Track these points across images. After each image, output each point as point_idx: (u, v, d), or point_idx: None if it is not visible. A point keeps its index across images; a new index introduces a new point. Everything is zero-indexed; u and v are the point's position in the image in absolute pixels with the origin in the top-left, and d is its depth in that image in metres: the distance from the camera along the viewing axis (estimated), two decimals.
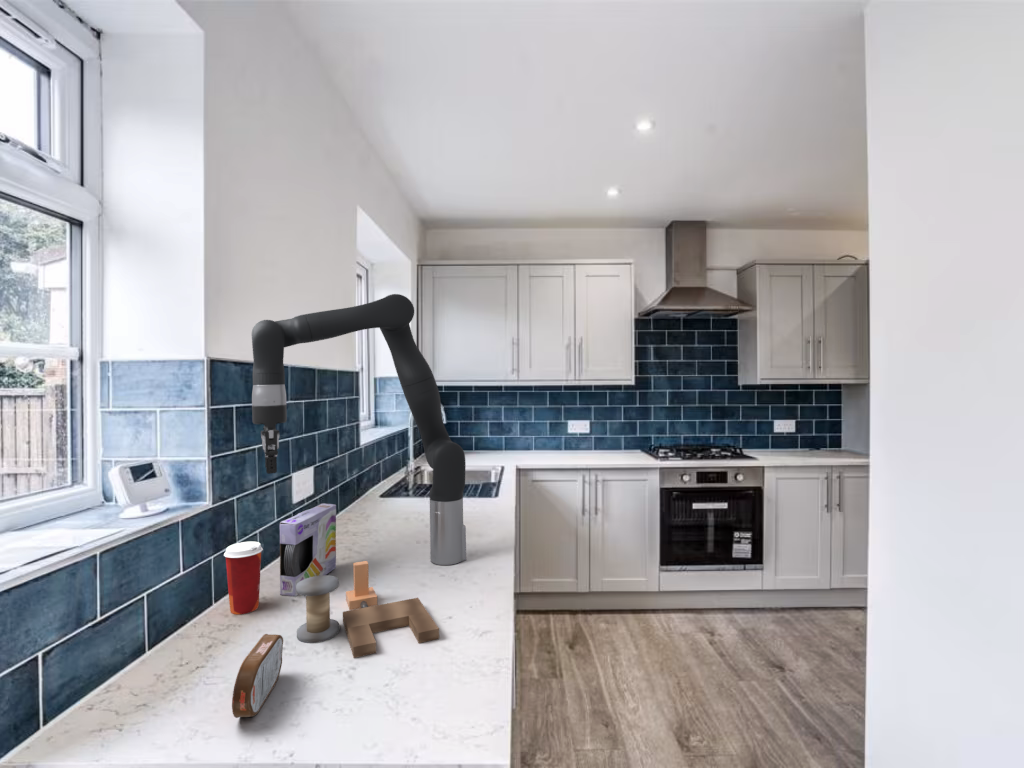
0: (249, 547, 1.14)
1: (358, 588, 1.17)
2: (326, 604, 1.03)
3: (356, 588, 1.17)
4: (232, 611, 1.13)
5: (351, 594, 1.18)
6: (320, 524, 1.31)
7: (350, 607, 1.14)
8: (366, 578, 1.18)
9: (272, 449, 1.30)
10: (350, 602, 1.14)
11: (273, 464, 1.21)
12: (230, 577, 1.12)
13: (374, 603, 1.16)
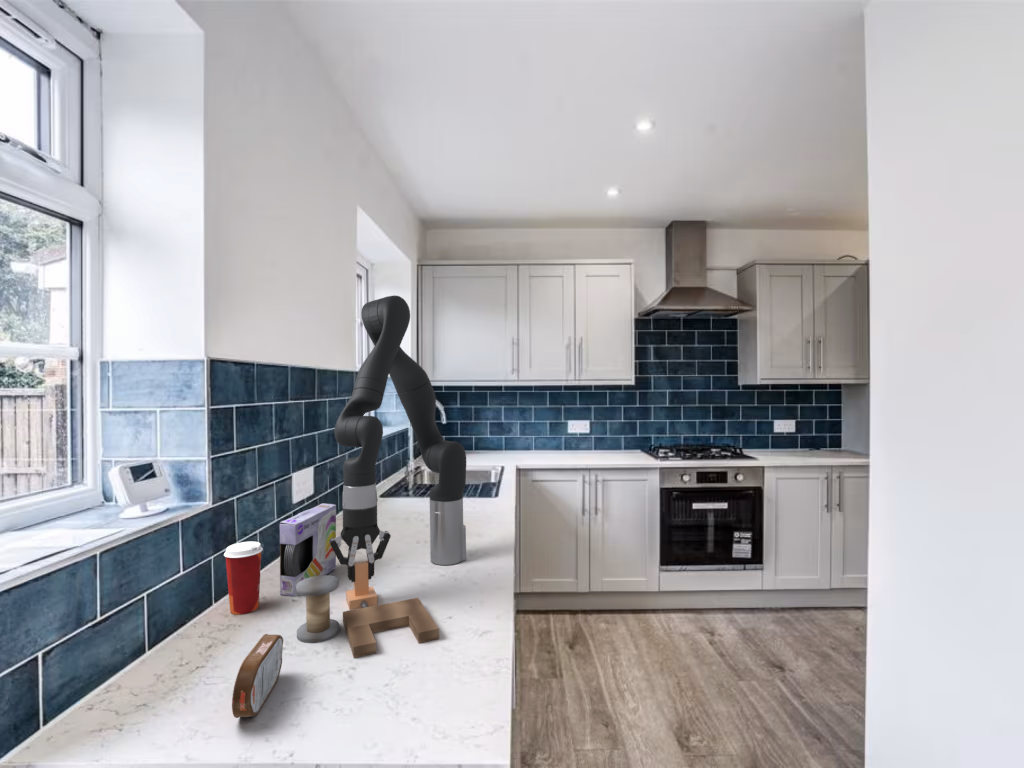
0: (249, 547, 1.14)
1: (358, 587, 1.17)
2: (326, 604, 1.03)
3: (356, 588, 1.17)
4: (232, 611, 1.13)
5: (351, 594, 1.18)
6: (320, 525, 1.31)
7: (350, 607, 1.14)
8: (366, 578, 1.18)
9: None
10: (350, 602, 1.14)
11: None
12: (230, 577, 1.12)
13: (374, 603, 1.16)
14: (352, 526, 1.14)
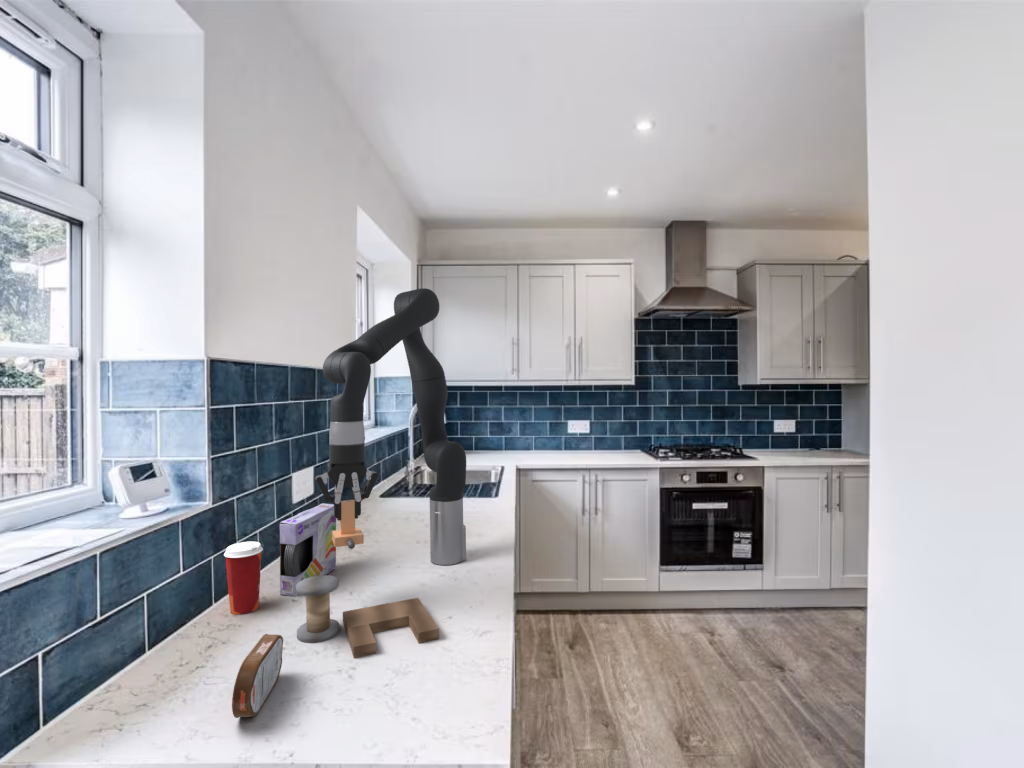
0: (249, 547, 1.14)
1: (344, 526, 1.15)
2: (326, 604, 1.03)
3: (342, 526, 1.15)
4: (232, 611, 1.13)
5: (337, 533, 1.16)
6: (320, 525, 1.31)
7: (336, 544, 1.12)
8: (353, 516, 1.16)
9: None
10: (336, 539, 1.12)
11: None
12: (230, 577, 1.12)
13: (360, 541, 1.14)
14: (338, 462, 1.12)
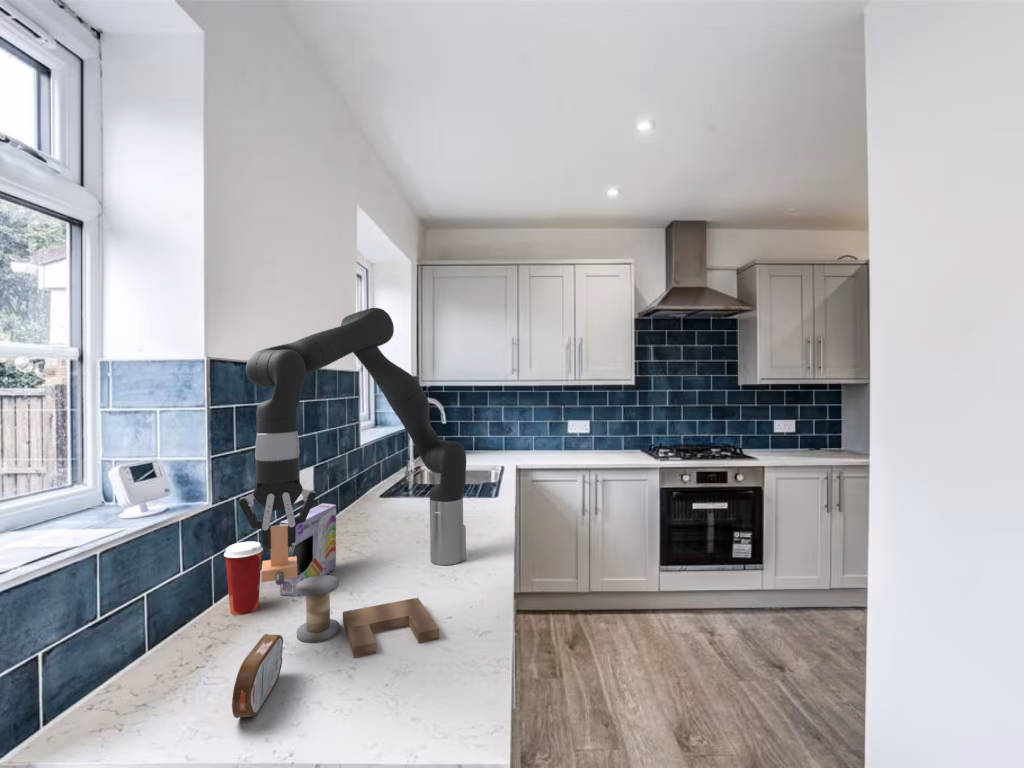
0: (249, 547, 1.14)
1: (274, 556, 0.97)
2: (326, 604, 1.03)
3: (272, 556, 0.97)
4: (232, 611, 1.13)
5: (267, 564, 0.98)
6: (320, 525, 1.31)
7: (262, 578, 0.94)
8: (285, 544, 0.98)
9: None
10: (262, 572, 0.94)
11: None
12: (230, 577, 1.12)
13: (293, 574, 0.96)
14: (265, 481, 0.94)
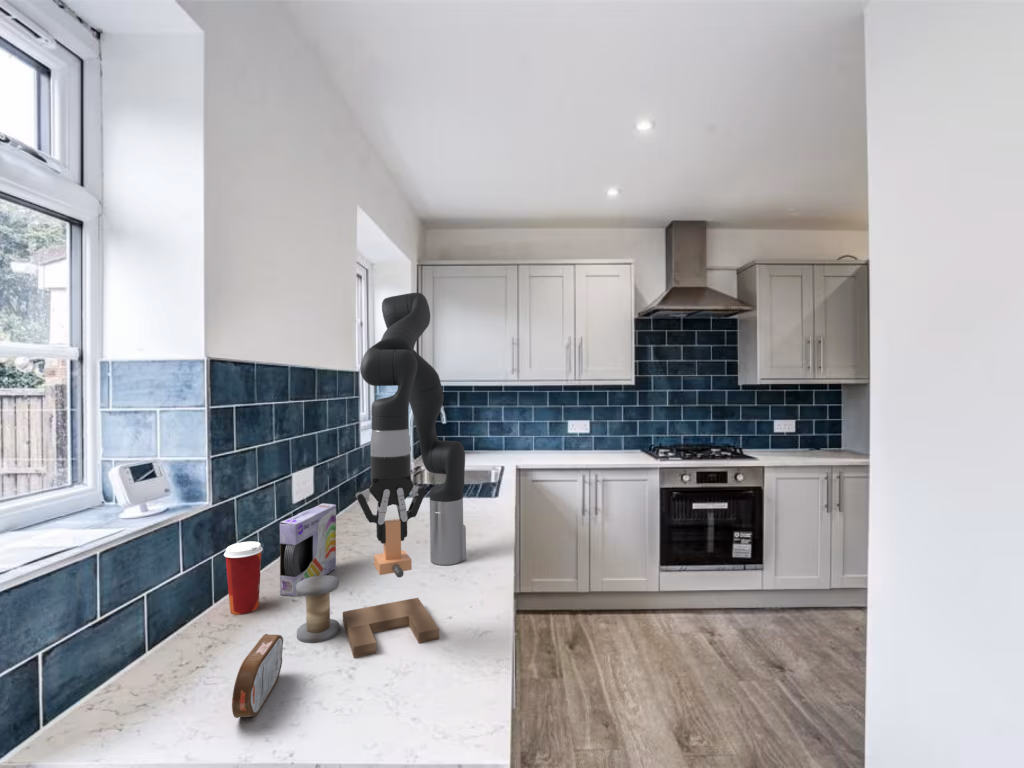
0: (249, 547, 1.14)
1: (389, 550, 1.00)
2: (326, 604, 1.03)
3: (387, 550, 1.00)
4: (232, 611, 1.13)
5: (380, 557, 1.01)
6: (320, 525, 1.31)
7: (380, 571, 0.97)
8: (398, 538, 1.01)
9: None
10: (380, 565, 0.97)
11: None
12: (230, 577, 1.12)
13: (408, 567, 0.99)
14: (383, 477, 0.97)
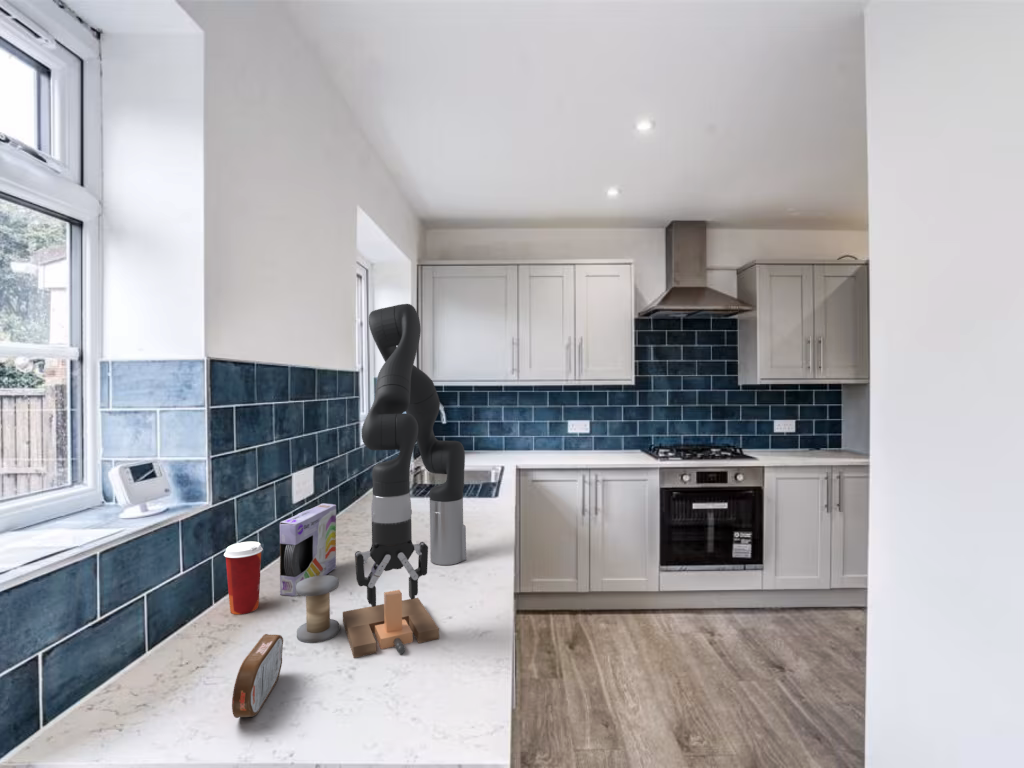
0: (249, 547, 1.14)
1: (390, 622, 1.00)
2: (326, 604, 1.03)
3: (388, 622, 1.00)
4: (232, 611, 1.13)
5: (381, 629, 1.01)
6: (320, 525, 1.31)
7: (382, 646, 0.97)
8: (399, 610, 1.01)
9: None
10: (382, 640, 0.97)
11: None
12: (230, 577, 1.12)
13: (409, 640, 0.99)
14: (384, 543, 0.97)
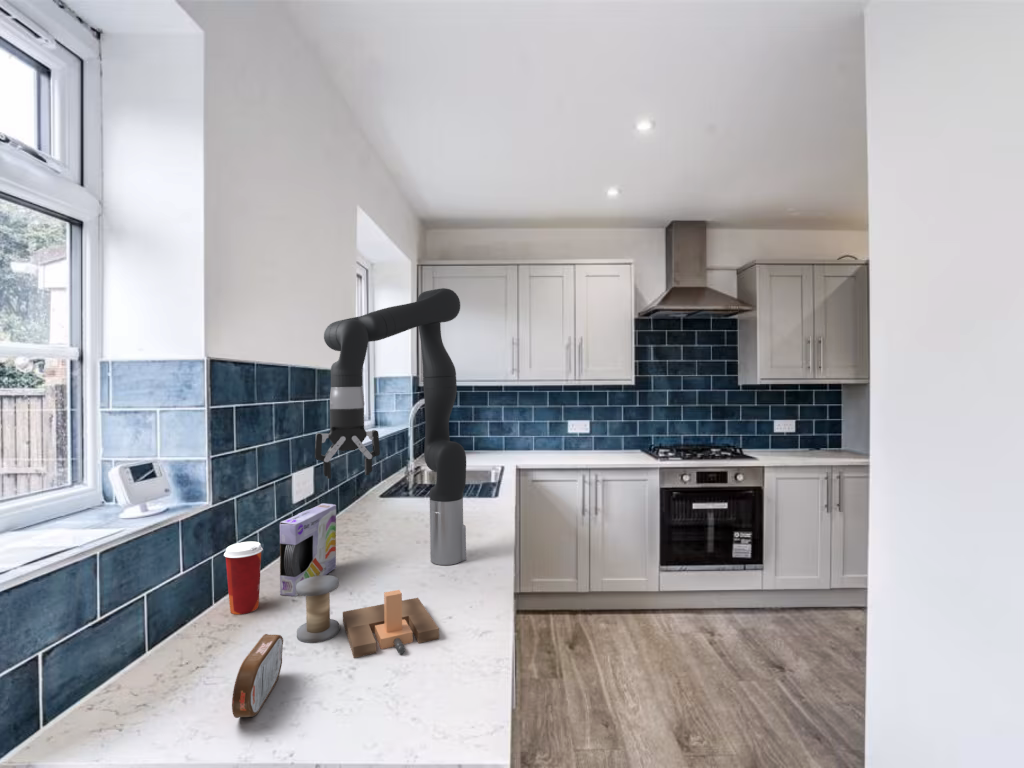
0: (249, 547, 1.14)
1: (390, 622, 1.00)
2: (326, 604, 1.03)
3: (388, 623, 1.00)
4: (232, 611, 1.13)
5: (381, 629, 1.01)
6: (320, 525, 1.31)
7: (382, 646, 0.97)
8: (399, 610, 1.01)
9: None
10: (382, 640, 0.97)
11: None
12: (230, 577, 1.12)
13: (409, 640, 0.99)
14: (339, 425, 1.17)
